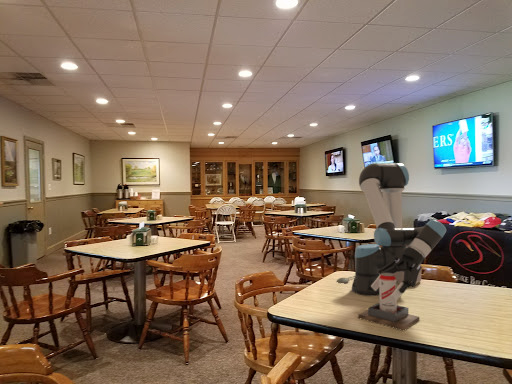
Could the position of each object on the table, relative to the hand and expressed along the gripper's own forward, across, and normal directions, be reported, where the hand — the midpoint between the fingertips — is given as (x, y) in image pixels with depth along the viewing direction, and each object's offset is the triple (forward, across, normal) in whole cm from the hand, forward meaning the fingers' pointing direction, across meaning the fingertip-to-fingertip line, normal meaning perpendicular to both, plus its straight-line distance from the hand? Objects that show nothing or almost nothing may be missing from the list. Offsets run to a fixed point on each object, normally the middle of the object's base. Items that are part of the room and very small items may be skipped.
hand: (382, 293), depth 133 cm
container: (-25, +51, -40) cm, 69 cm away
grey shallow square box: (+5, 0, -8) cm, 9 cm away
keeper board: (+6, 0, -9) cm, 11 cm away
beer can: (+5, 0, -8) cm, 9 cm away
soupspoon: (-5, +61, -21) cm, 65 cm away
